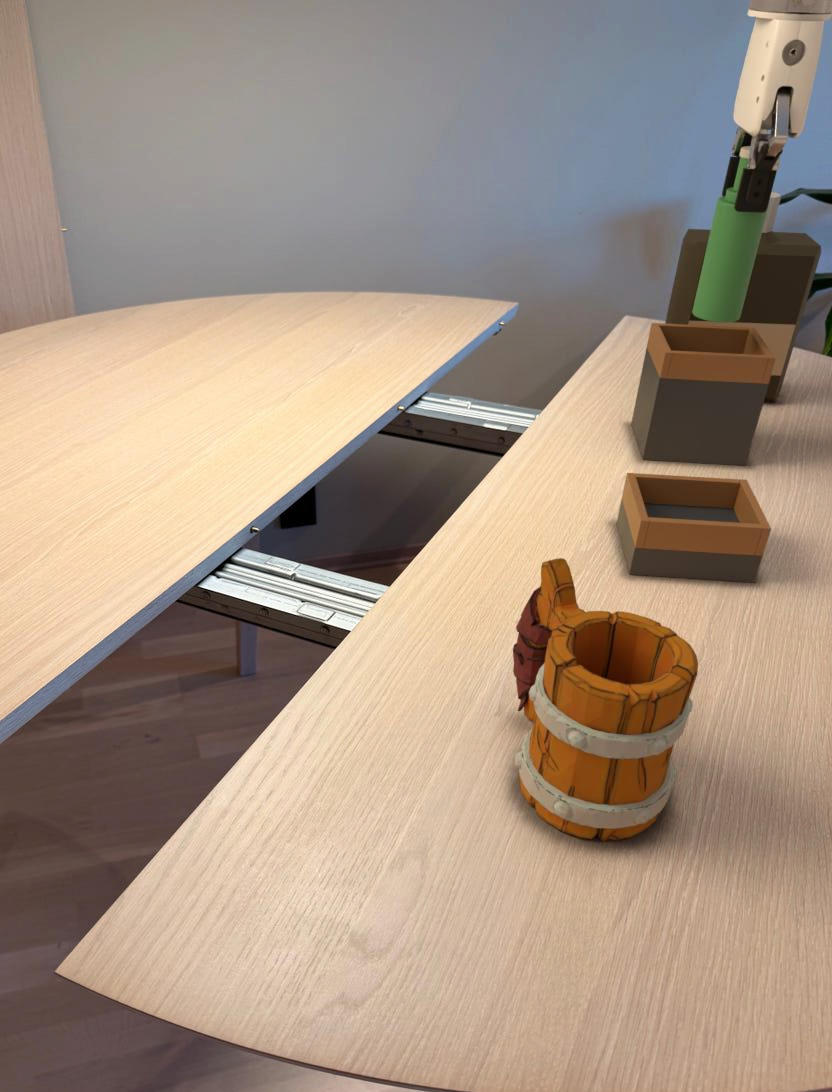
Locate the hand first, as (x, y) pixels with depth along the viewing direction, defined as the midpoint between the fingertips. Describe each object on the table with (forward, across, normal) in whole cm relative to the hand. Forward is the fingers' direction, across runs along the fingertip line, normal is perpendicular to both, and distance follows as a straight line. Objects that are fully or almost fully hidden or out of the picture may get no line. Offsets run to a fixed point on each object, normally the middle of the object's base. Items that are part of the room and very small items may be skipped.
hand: (743, 202), depth 103 cm
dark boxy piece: (+28, +18, -7) cm, 34 cm away
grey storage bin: (+28, 0, 0) cm, 28 cm away
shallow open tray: (+28, -26, +5) cm, 38 cm away
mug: (+28, -59, +19) cm, 68 cm away
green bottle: (+12, 0, 0) cm, 12 cm away
